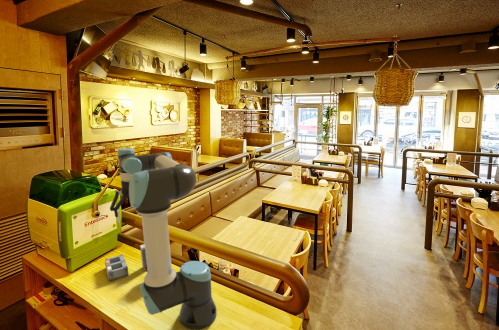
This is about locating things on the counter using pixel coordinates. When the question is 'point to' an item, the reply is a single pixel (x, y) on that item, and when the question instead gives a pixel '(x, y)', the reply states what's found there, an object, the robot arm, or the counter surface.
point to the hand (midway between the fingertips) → (133, 219)
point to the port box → (116, 267)
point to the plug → (143, 255)
